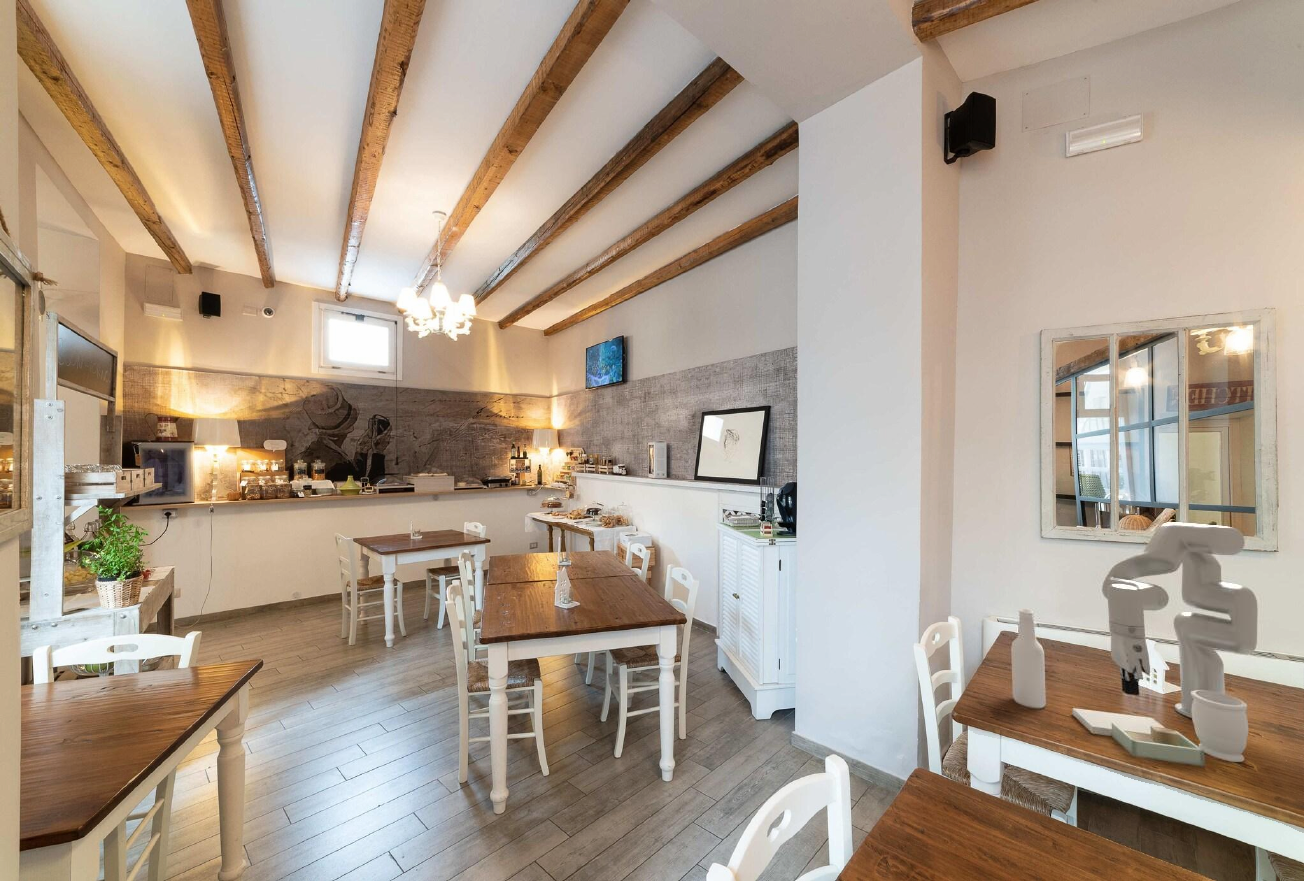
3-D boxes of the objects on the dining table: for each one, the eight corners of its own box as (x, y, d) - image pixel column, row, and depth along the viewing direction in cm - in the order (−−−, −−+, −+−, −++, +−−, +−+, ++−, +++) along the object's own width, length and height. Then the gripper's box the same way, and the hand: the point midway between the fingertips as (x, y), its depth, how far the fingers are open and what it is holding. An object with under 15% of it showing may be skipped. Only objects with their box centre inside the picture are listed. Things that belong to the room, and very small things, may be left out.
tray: (1177, 745, 143) (1177, 731, 143) (1204, 766, 133) (1204, 750, 133) (1112, 736, 147) (1111, 722, 148) (1133, 756, 138) (1132, 741, 138)
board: (1152, 724, 155) (1151, 717, 155) (1178, 745, 143) (1178, 737, 143) (1072, 714, 161) (1072, 708, 161) (1092, 733, 149) (1092, 726, 149)
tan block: (1155, 742, 138) (1156, 754, 138) (1145, 734, 142) (1145, 745, 142) (1134, 739, 139) (1135, 751, 139) (1125, 731, 144) (1125, 742, 143)
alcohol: (1047, 702, 169) (1044, 610, 170) (1044, 712, 162) (1041, 616, 164) (1015, 694, 175) (1012, 605, 176) (1010, 703, 168) (1008, 611, 170)
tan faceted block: (1171, 729, 142) (1177, 734, 139) (1171, 745, 142) (1178, 751, 139) (1150, 726, 144) (1156, 731, 141) (1151, 742, 144) (1157, 747, 141)
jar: (1258, 770, 132) (1255, 710, 132) (1201, 757, 137) (1198, 700, 138) (1239, 750, 141) (1236, 695, 141) (1187, 739, 146) (1184, 686, 147)
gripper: (1159, 638, 139) (1164, 707, 138) (1127, 621, 153) (1131, 683, 152) (1125, 636, 141) (1129, 704, 140) (1097, 620, 155) (1100, 681, 155)
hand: (1130, 693), depth 146 cm, fingers closed
